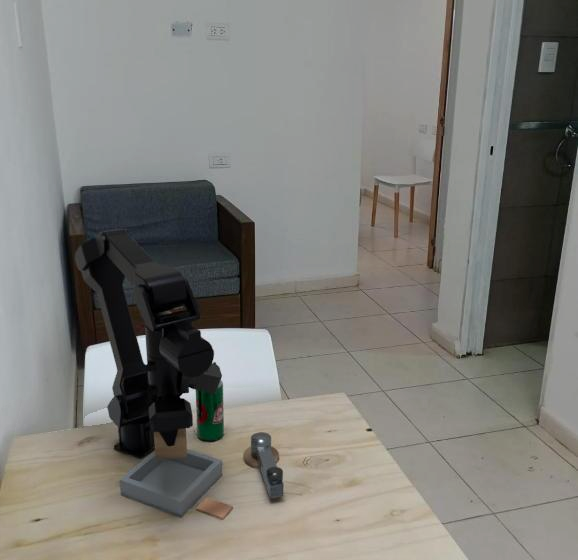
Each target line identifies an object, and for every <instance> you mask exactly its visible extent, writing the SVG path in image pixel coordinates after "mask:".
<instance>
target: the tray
mask: <svg viewBox="0 0 578 560" xmlns="http://www.w3.org/2000/svg"><path fill="white" fill-rule="evenodd" d="M222 476H223V460H222V459H221V458H220V459H219V458H217V457H213V456H211V455H207V454H204V453H201V452H198V451H194V450H191V449H188V448H187V456H185V457H177V458H169V459H162V460H156V458H155V449H154V450H153V451H152V452H151V453H150V454H149V453H148V454H147V456H146V457H144V459H142V460H141V461H140V462H139V463H137V464H136V465H134V467H133V468H131V469H130V470H129V471H128V472H127V473H125V474H124V475H123V476H122V477H121V478H119V479H118V481H119V490H120V491H119V492H120V496H122V497H125V498H128V499H131V500H133V501H136V502H139V503H141V504H143V505H145V506H149V507H152V508H154V509H157V510H159V511H162V512H164V513H168V514H170V515H173V516H176V517H178V518H181V519H182V518H183V517H184V516H185V515H186V514H187V513H188V511H190V510H191V509H192V507H193V506H195V504H197V502H199V500H200V499H201V498H202V497H203V496H205V494H206V493H207V492H208V491H209V490H210V489H211V488H212V487H213V486H214V484H215V483H216V482H217V481H218V480H219V479H221V478H222Z"/></svg>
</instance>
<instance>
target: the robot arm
mask: <svg viewBox="0 0 578 560" xmlns="http://www.w3.org/2000/svg"><path fill="white" fill-rule="evenodd" d="M74 259H75V264H76V265H75V266H76V267H77V269H78V270H79V271H80V272H81V275H82V278H83V282H84V283H86V284H87V285H88V286H89V287H90V288H91V289H92V290H93V291H94V292H95V293H96V295H97V298H98V303H99V307H100V310H101V314H102V318H103V321H104V324H105V329H106V333H107V336H108V339H109V340H108V341H109V344H110V348H111V352H112V355H113V358H114V359H113V360H114V363H115V366H116V375H115V376H114V377H115V378H114V381H113V384H112V395H113V397H112V398H111V400H110V401H109V402H108V404H107V411H108V417H109V418H110V420H111V421H112V422H113V423H114V425H116V426H117V430H118V440H119V441H118V442H117V443H116V444H114V445H113V450H115V451H118V452H121V453H124V454H127V455H130V456H132V457H135V458H139V459H141V458H143V457H145V456H146V455H148V454H149V452H151V451H152V450H153V449H155V444H154V432H159V433H160V435H161V436H162V438H163V440H164V441H165V443H166V444H167V446H174V445H175V440H176V436H177V432H178V429H185V428H186V429H190V428H191V427H194V423H193V421H194V420H193V419H194V416H193V411H192V406H191V405H192V404H191V402H189V401H188V400H187V399H185V398H183V397H181V396H182V395H184V394H189V393H190V389H192V390H194V391H196V390H200V391H204V392H208V394H216V391H217V389H218V386H219V383H220V381H222V377H223V374H222V371H221V368H220V366H219V365H218V364H217V362H216V361H214V358H215V350H214V348H213V345H212V344H211V343H210V342H209V341H208V340H207V339H205V338H204V337H202V331H201V330H200V329H198V328H197V327H194V326H192V324H193V323H192V322H196V321H200V320H201V314H200V312H199V309H200V305H199V303H198V300H197V298H196V297H195V294H194V291H193V290H192V287H191V285H190V283H189V281H188V279H187V278H186V277H185V275H183V273H182V272H181V271H179V270H178V269H176V268H175V267H173V266H172V265H167V264H162V263H158V262H156V261H155V260H154V259H153V258H152V257H151V256H150V255H149V254H148V253H147V252H146V251H145V250H144V249H143V247H142V246H140V245H139V244H138V243H137V242H136V240H135V239H133V237H132V235H131V232H130V231H129V230H128V229H127V228H126V229H124V228H115V229H109V230H103V231H102V230H101V231H100V232H98V233H97V234H96V235H95V236H94V237H92V238H90V239H89V240H87V241H85V242H83V243H82V244H80V245H79V247H78V248H77V250H76V251H75V254H74ZM125 279H127V280H128V281H129V282H130V283H131V284H132V286H133V300H134V302H135V304H136V306H137V309H138V311H139V313H140V317H141V318H142V319H143V321H144V333H145V346H146V347H145V349H146V363H144V360H143V355H142V352H141V348H140V344H139V342H138V341H139V340H138V337H137V334H136V329H135V326H134V323H133V319H132V314H131V311H130V308H129V303H128V301H127V296H126V292H125V289H124V282H125ZM184 307H185V308H186V309H184V310H179V311H175V312H171V311H173V310H177V309H182V308H184Z"/></svg>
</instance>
